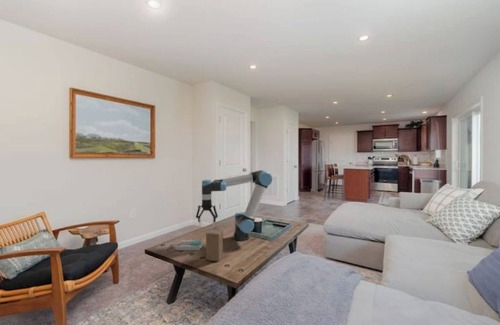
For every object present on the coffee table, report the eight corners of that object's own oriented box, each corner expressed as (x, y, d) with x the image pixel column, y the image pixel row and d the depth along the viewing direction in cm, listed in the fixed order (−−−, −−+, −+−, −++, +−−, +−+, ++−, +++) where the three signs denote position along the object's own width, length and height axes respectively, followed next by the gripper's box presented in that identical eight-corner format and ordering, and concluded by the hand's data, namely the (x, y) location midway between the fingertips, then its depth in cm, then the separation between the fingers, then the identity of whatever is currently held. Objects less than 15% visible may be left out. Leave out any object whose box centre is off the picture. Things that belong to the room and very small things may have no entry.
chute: (202, 244, 191) (202, 240, 191) (199, 250, 179) (199, 246, 179) (181, 244, 191) (181, 240, 191) (176, 250, 179) (176, 246, 179)
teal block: (201, 245, 188) (200, 239, 188) (199, 248, 181) (199, 242, 181) (193, 245, 188) (193, 239, 188) (191, 248, 181) (191, 242, 181)
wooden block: (219, 261, 161) (218, 234, 160) (205, 260, 163) (205, 233, 162) (223, 255, 171) (223, 229, 170) (210, 254, 173) (210, 228, 172)
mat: (180, 244, 190) (180, 244, 190) (176, 250, 179) (176, 250, 179) (171, 244, 190) (171, 244, 190) (166, 250, 179) (166, 250, 179)
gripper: (221, 198, 187) (221, 224, 188) (193, 198, 187) (194, 224, 188) (220, 199, 179) (220, 227, 180) (191, 199, 179) (191, 227, 180)
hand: (206, 226), depth 184 cm, fingers open, 10 cm apart
